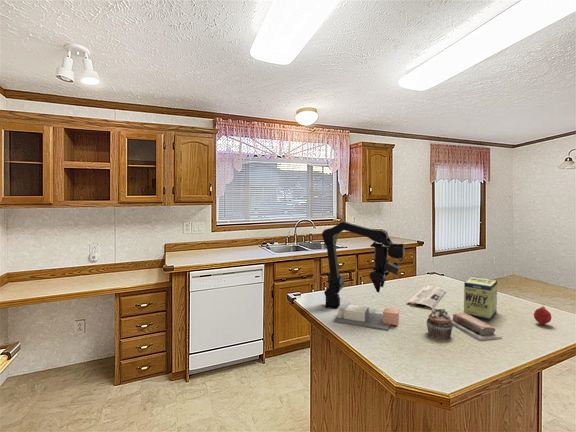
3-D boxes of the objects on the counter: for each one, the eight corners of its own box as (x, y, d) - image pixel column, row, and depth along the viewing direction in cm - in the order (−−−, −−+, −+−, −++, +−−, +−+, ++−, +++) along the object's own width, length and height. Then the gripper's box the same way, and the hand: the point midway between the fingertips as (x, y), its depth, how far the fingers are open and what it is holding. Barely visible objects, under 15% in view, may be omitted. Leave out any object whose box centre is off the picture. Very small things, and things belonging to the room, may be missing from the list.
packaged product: (448, 312, 137) (468, 311, 139) (448, 323, 138) (468, 321, 139) (479, 329, 120) (502, 327, 121) (479, 342, 120) (502, 339, 122)
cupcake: (422, 329, 131) (422, 306, 130) (446, 329, 130) (446, 306, 130) (432, 340, 121) (432, 314, 120) (457, 340, 121) (458, 314, 120)
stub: (382, 323, 136) (382, 311, 136) (384, 319, 141) (384, 308, 141) (397, 325, 134) (397, 313, 134) (399, 321, 138) (399, 309, 138)
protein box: (463, 316, 145) (463, 282, 144) (472, 307, 156) (472, 276, 155) (490, 321, 138) (490, 286, 137) (497, 312, 149) (497, 279, 148)
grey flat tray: (334, 321, 140) (334, 309, 140) (344, 310, 155) (344, 298, 154) (388, 330, 130) (388, 317, 130) (393, 317, 145) (393, 305, 144)
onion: (546, 328, 130) (547, 309, 129) (530, 323, 135) (531, 305, 134) (553, 325, 133) (554, 307, 132) (537, 321, 138) (538, 303, 137)
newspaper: (432, 311, 153) (432, 303, 153) (405, 306, 161) (405, 299, 160) (446, 292, 181) (446, 286, 181) (423, 289, 189) (423, 283, 189)
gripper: (395, 262, 136) (394, 297, 137) (401, 255, 153) (400, 286, 154) (369, 259, 141) (368, 294, 142) (378, 253, 158) (377, 283, 159)
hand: (380, 289), depth 149 cm, fingers open, 9 cm apart
